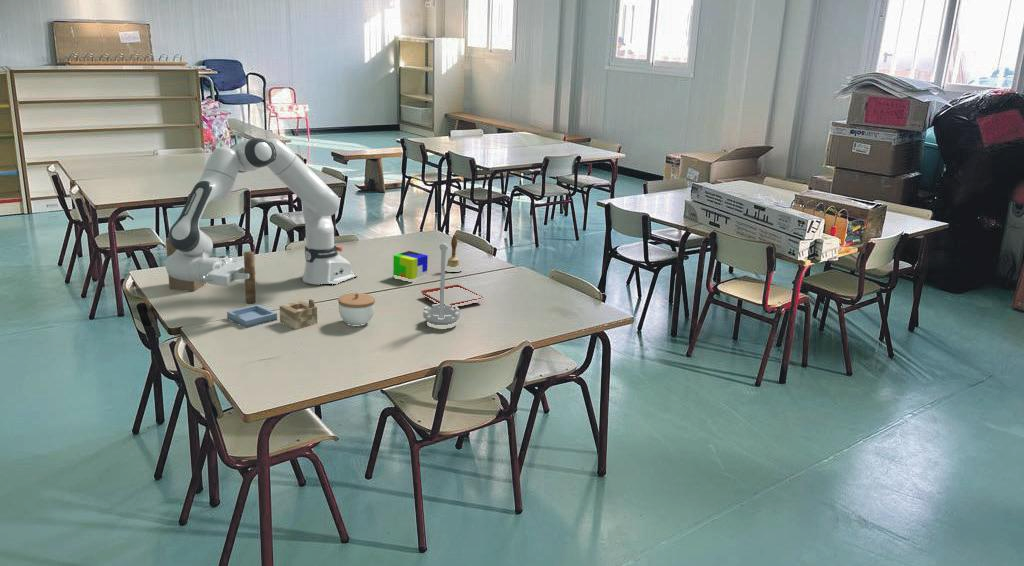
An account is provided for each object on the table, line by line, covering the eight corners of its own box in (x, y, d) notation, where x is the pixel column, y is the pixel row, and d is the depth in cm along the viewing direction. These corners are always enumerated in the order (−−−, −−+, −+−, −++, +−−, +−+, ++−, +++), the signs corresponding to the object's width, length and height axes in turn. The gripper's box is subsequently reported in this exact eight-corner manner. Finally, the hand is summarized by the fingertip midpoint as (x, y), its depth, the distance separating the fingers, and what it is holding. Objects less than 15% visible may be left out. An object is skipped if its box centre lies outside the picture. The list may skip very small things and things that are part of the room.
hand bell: (445, 267, 350) (446, 232, 345) (464, 268, 349) (465, 233, 344) (441, 272, 342) (442, 236, 337) (460, 274, 341) (461, 238, 336)
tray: (257, 311, 284) (257, 304, 283) (277, 319, 276) (276, 313, 276) (227, 318, 275) (227, 311, 274) (246, 327, 267) (246, 321, 267)
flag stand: (459, 331, 277) (463, 248, 268) (422, 330, 275) (424, 247, 266) (459, 318, 289) (462, 238, 280) (423, 317, 288) (425, 237, 279)
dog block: (301, 316, 281) (301, 293, 278) (317, 323, 276) (316, 300, 273) (280, 322, 274) (279, 299, 272) (295, 329, 269) (294, 305, 266)
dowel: (252, 300, 276) (250, 250, 270) (257, 303, 274) (256, 253, 268) (243, 302, 273) (241, 252, 268) (249, 305, 271) (247, 254, 266)
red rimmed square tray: (484, 304, 306) (484, 296, 305) (445, 312, 295) (445, 304, 294) (457, 291, 319) (457, 284, 318) (419, 298, 308) (419, 290, 307)
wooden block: (206, 284, 308) (203, 234, 302) (194, 291, 299) (190, 240, 293) (182, 281, 309) (178, 232, 303) (168, 289, 300) (165, 238, 294)
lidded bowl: (337, 329, 271) (337, 299, 268) (339, 316, 283) (339, 287, 280) (374, 329, 273) (374, 299, 270) (375, 316, 285) (375, 287, 282)
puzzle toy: (427, 278, 333) (427, 255, 330) (411, 283, 325) (412, 260, 322) (408, 273, 338) (409, 250, 335) (393, 278, 330) (393, 255, 327)
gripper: (198, 270, 261) (239, 273, 260) (226, 254, 280) (263, 257, 279) (199, 288, 262) (239, 292, 261) (226, 271, 282) (264, 274, 281)
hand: (252, 274), depth 270 cm, fingers closed on dowel, 3 cm apart
